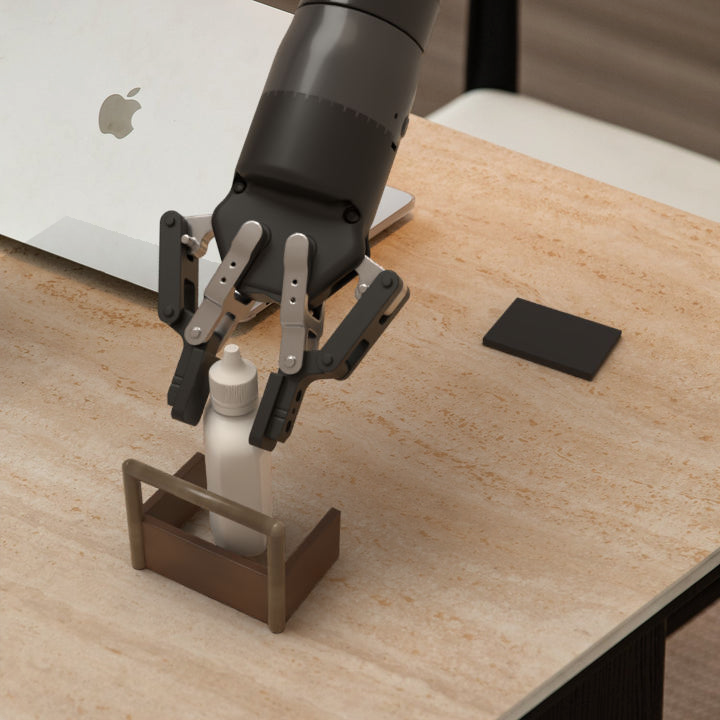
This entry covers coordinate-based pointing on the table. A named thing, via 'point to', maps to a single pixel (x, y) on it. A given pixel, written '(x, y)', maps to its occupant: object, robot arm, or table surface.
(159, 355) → the table surface
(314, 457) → the table surface
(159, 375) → the table surface
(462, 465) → the table surface
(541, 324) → the mat
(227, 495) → the eye dropper bottle
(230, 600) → the caddy
